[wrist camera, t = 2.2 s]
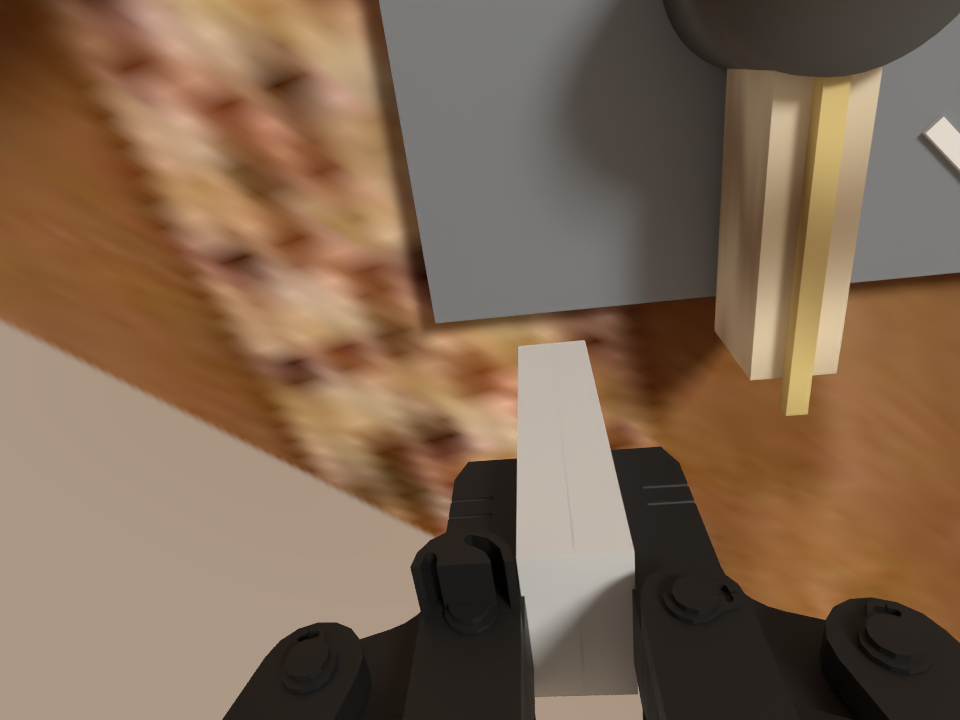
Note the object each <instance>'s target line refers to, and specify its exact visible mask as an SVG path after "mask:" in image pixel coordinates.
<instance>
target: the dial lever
mask: <svg viewBox="0 0 960 720" xmlns="http://www.w3.org/2000/svg"><path fill="white" fill-rule="evenodd" d="M662 1H663V4H664V7H665V10H666V13H667V16H668V18H669V20H670V22H671V25H672V27H673V29H674V30H675V32H676V33H677V35H678V36H679V38H680V39H681V40H682V42H683V43H684V44H685V45H686V46H687V47H688V48H689V49H690V50H691V51H692V52H693V53H694V54H696V55H697V56H698V57H699V58H701V59H702V60H704V61H706V62H707V63H709V64H711V65H714V66H716V67H719V68H721V69H724V70H727V81H726V102H725V123H724V144H723V165H722V185H721V206H720V227H719V248H718V268H717V289H716V310H715V332H716V334H717V335H718V336H719V338H720V339H721V340H722V342H723V343H724V345H725V346H726V347H727V349H728V350H729V352H730V353H731V354H732V356H733V357H734V358H735V360H736V361H737V363H738V364H739V365H740V367H741V368H742V369H743V371H744V372H745V374H746V375H747V376H748V378H749V379H750V380H760V379H772V378H782V385H781V395H780V404H779V407H780V409H781V410H782V411H783V413H784V414H785V415H786V416H790V415H803V414H808V406H809V398H810V391H811V383H812V376H813V375H821V374H833V373H837V367H838V360H839V353H840V347H841V340H842V333H843V327H844V320H845V314H846V307H847V300H848V294H849V287H850V281H851V274H852V267H853V261H854V254H855V248H856V241H857V234H858V228H859V221H860V215H861V208H862V201H863V195H864V188H865V182H866V175H867V168H868V162H869V155H870V149H871V142H872V135H873V129H874V122H875V115H876V109H877V102H878V96H879V89H880V82H881V76H882V69H883V66H884V65H886V64H889V63H891V62H893V61H895V60H897V59H899V58H902V57H903V56H905V55H907V54H908V53H910V52H912V51H913V50H915V49H917V48H918V47H920V46H921V45H923V44H924V43H925V42H927V41H928V40H930V39H931V38H932V37H934V36H935V35H936V34H938V33H939V32H940V31H941V30H942V29H943V28H944V27H946V26H947V25H948V24H949V23H950V22H951V21H952V20H953V19H954V18H956V17H957V16H958V14H959V13H960V0H662Z"/></svg>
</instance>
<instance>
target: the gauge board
mask: <svg viewBox="0 0 960 720" xmlns="http://www.w3.org/2000/svg"><path fill="white" fill-rule="evenodd" d="M379 4H380V10H381V16H382V22H383V27H384V33H385V39H386V44H387V50H388V56H389V62H390V67H391V73H392V79H393V84H394V90H395V96H396V101H397V107H398V113H399V119H400V124H401V130H402V136H403V141H404V147H405V153H406V159H407V164H408V170H409V176H410V181H411V187H412V193H413V198H414V204H415V210H416V216H417V221H418V227H419V233H420V238H421V244H422V250H423V256H424V261H425V267H426V273H427V278H428V284H429V290H430V295H431V301H432V307H433V313H434V318H435V323H444V322H455V321H465V320H475V319H486V318H496V317H506V316H516V315H527V314H537V313H547V312H558V311H568V310H578V309H588V308H599V307H609V306H619V305H630V304H640V303H650V302H660V301H671V300H681V299H691V298H702V297H712V296H716V289H717V268H718V248H719V227H720V206H721V185H722V165H723V144H724V123H725V102H726V81H727V70H724V69H721V68H719V67H716V66H714V65H711V64H709V63H707V62H706V61H704V60H702V59H701V58H699V57H698V56H697V55H696V54H694V53H693V52H692V51H691V50H690V49H689V48H688V47H687V46H686V45H685V44H684V43H683V42H682V40H681V39H680V38H679V36H678V35H677V33H676V32H675V30H674V29H673V27H672V25H671V22H670V20H669V18H668V16H667V13H666V10H665V7H664V4H663V1H662V0H379ZM959 272H960V13H959V14H958V16H957V17H956V18H954V19H953V20H952V21H951V22H950V23H949V24H948V25H947V26H946V27H944V28H943V29H942V30H941V31H940V32H939V33H938V34H936V35H935V36H934V37H932V38H931V39H930V40H928V41H927V42H925V43H924V44H923V45H921V46H920V47H918V48H917V49H915V50H913V51H912V52H910V53H908V54H907V55H905V56H903V57H902V58H899V59H897V60H895V61H893V62H891V63H889V64H886V65H884V66H883V69H882V76H881V82H880V89H879V96H878V102H877V109H876V115H875V122H874V129H873V135H872V142H871V149H870V155H869V162H868V168H867V175H866V182H865V188H864V195H863V201H862V208H861V215H860V221H859V228H858V234H857V241H856V248H855V254H854V261H853V267H852V274H851V281H850V283H856V282H866V281H876V280H887V279H897V278H907V277H917V276H928V275H938V274H948V273H959Z"/></svg>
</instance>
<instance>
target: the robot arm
mask: <svg viewBox="0 0 960 720" xmlns="http://www.w3.org/2000/svg"><path fill="white" fill-rule="evenodd" d="M411 572H412V576H413V580H414V584H415V589H416V593H417V597H418V601H419V606H420V610H421V612H420V613H419V614H418V615H417V616H415V617H413V618H412V619H411V620H409V621H408V622H406V623H404V624H402V625H400V626H397V627H395V628H393V629H390V630H387V631H384V632H381V633H378V634H375V635H372V636H369V637H366V638H363V639H359V638H358V637H357V635H356V634H355V633H354V632H353V630H352V629H351V628H348V627H346V626H344V625H341V624H339V623H315V624H312V625H309V626H306V627H303V628H300V629H298V630H296V631H295V632H293V633H292V634H290V635H288V636H287V637H285V638H284V639H282V640H281V641H280V642H279V643H278V644H277V645H276V646H275V647H274V648H273V649H272V650H271V651H270V653H269V654H268V655H267V656H266V657H265V659H264V660H263V661H262V663H261V664H260V666H259V667H258V669H257V670H256V672H255V673H254V674H253V676H252V677H251V679H250V680H249V682H248V683H247V685H246V686H245V687H244V689H243V690H242V692H241V693H240V695H239V696H238V698H237V699H236V701H235V702H234V703H233V705H232V706H231V708H230V709H229V711H228V712H227V714H226V715H225V717H224V718H223V720H536V718H535V697H548V696H585V695H586V696H588V695H625V694H626V695H627V694H638V687H639V692H640V698H641V703H642V708H643V720H960V643H959V642H958V641H957V640H956V639H955V638H953V637H952V636H951V635H950V634H949V633H948V632H947V631H946V630H945V629H943V628H942V627H940V626H939V625H938V624H936V623H935V622H934V621H932V620H931V619H929V618H928V617H927V616H925V615H924V614H922V613H920V612H918V611H915V610H913V609H911V608H909V607H906V606H904V605H902V604H899V603H897V602H892V601H887V600H882V599H877V598H872V597H871V598H857V599H849V600H847V601H845V602H843V603H841V604H839V605H837V606H835V607H833V609H832V610H831V612H830V614H829V615H828V617H827V619H826V620H822V619H818V618H813V617H808V616H804V615H799V614H794V613H790V612H785V611H782V610H778V609H775V608H772V607H768V606H766V605H764V604H762V603H760V602H758V601H756V600H753V599H751V598H750V597H748V596H747V595H746V594H745V593H744V592H743V590H742V589H741V588H740V586H739V585H738V584H737V583H736V582H735V581H733V580H732V579H731V578H729V577H728V576H726V575H725V573H724V571H723V570H722V568H721V566H720V563H719V561H718V558H717V556H716V553H715V551H714V548H713V546H712V543H711V541H710V538H709V536H708V533H707V531H706V529H705V526H704V524H703V521H702V519H701V516H700V514H699V511H698V509H697V506H696V504H694V499H693V496H692V494H691V491H690V489H689V487H688V486H687V481H686V479H685V476H684V474H683V471H682V469H681V466H680V464H679V462H678V461H676V460H675V459H674V458H673V457H672V456H671V455H670V454H668V453H667V452H666V451H665V450H664V449H663V448H661V447H649V448H635V449H620V450H610V445H609V441H608V437H607V433H606V428H605V424H604V420H603V416H602V411H601V407H600V403H599V399H598V394H597V390H596V386H595V381H594V377H593V373H592V369H591V364H590V360H589V356H588V352H587V347H586V343H585V340H582V341H571V342H560V343H549V344H538V345H527V346H518V426H517V459H504V460H490V461H476V462H468V463H467V465H466V466H465V467H464V468H463V470H462V471H461V472H460V474H459V475H458V476H457V478H456V479H455V482H454V488H453V494H452V503H451V507H450V513H449V520H448V525H447V531H446V533H444V534H442V535H440V536H438V537H436V538H434V539H432V540H430V541H429V542H428V543H427V544H426V545H425V546H424V547H423V548H422V549H421V550H419V551H418V552H417V554H416V556H415V558H414V561H413V563H412V565H411ZM637 682H638V684H637ZM534 695H535V696H534Z"/></svg>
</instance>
